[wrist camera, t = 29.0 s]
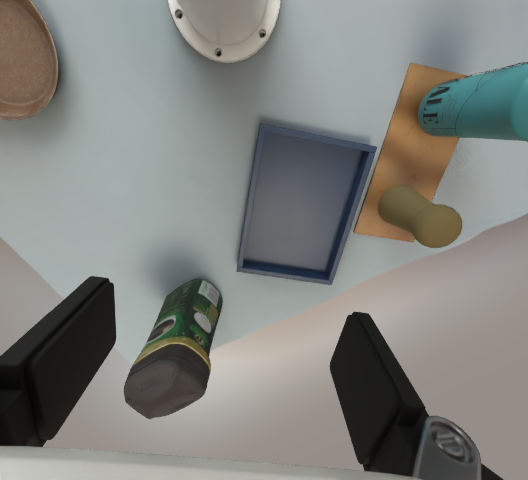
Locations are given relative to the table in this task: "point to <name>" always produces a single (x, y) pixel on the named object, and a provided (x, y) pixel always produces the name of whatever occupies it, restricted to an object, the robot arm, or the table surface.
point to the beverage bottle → (479, 106)
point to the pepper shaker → (420, 216)
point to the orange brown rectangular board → (407, 153)
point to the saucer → (25, 60)
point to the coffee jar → (176, 352)
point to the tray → (301, 204)
